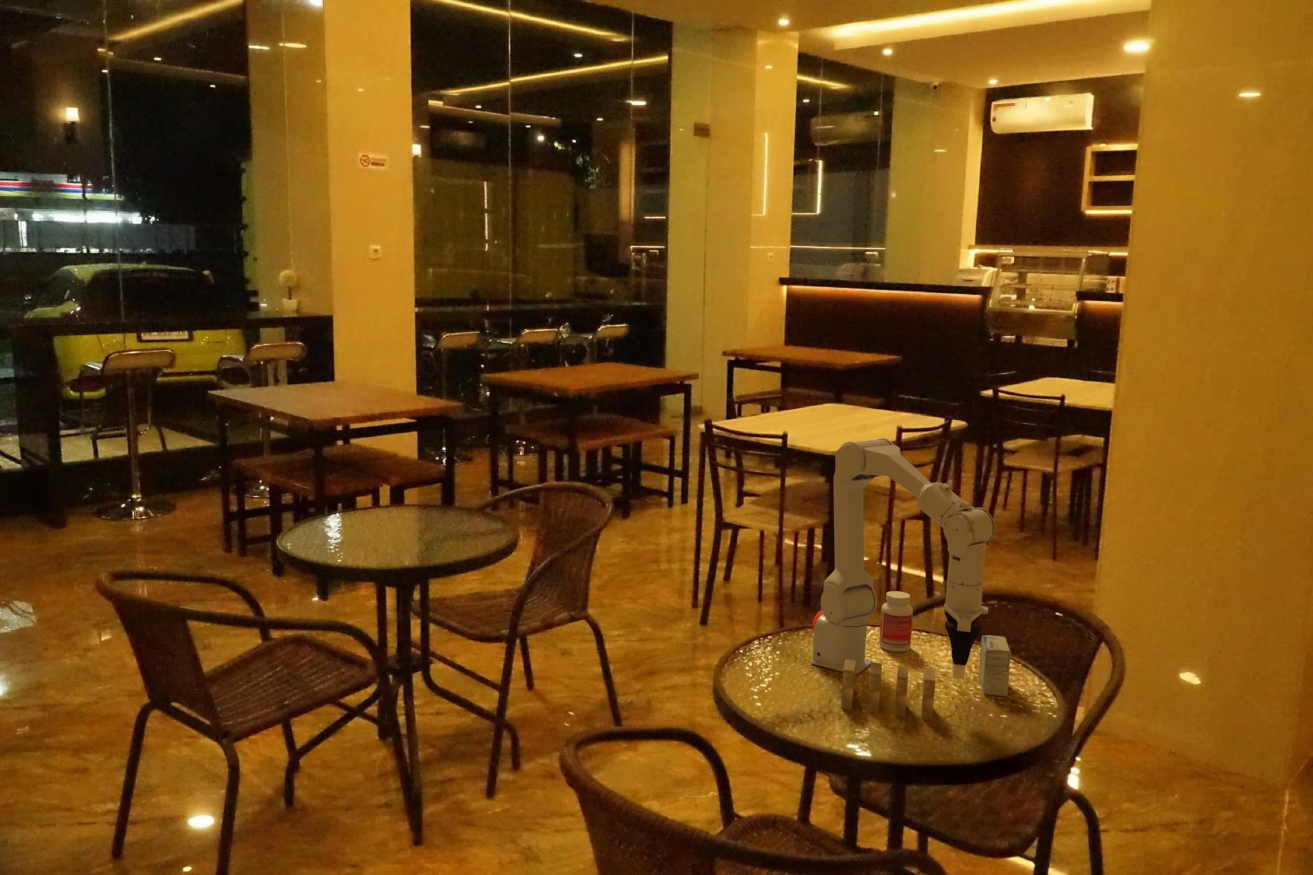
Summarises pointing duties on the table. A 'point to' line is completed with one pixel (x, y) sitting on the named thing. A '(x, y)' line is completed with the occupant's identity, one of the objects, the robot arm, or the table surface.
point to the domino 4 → (928, 694)
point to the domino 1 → (848, 684)
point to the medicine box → (994, 665)
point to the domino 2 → (874, 687)
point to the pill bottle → (896, 622)
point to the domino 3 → (901, 690)
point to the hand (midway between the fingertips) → (958, 658)
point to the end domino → (958, 671)
